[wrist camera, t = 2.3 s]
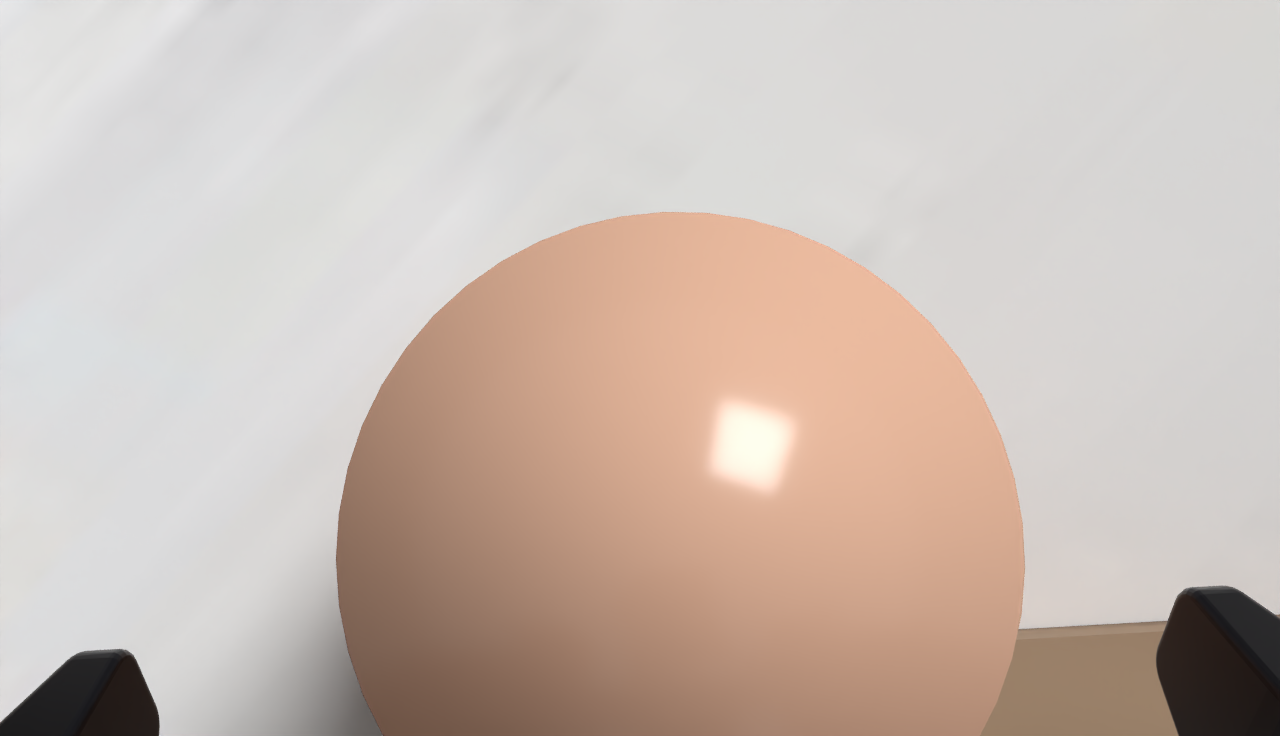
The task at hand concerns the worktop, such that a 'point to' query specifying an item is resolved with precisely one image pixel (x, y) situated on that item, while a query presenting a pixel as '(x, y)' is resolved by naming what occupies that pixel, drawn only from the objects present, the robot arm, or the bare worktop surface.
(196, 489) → the worktop surface
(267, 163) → the worktop surface
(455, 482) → the peach chess pawn
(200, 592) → the worktop surface
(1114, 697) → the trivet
